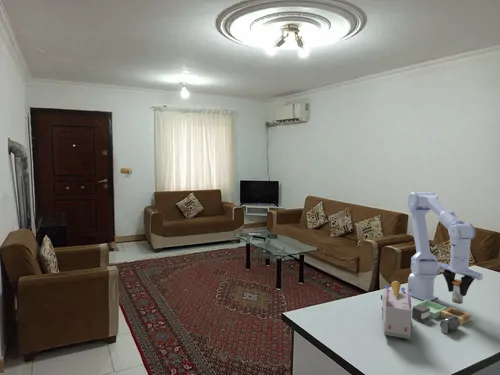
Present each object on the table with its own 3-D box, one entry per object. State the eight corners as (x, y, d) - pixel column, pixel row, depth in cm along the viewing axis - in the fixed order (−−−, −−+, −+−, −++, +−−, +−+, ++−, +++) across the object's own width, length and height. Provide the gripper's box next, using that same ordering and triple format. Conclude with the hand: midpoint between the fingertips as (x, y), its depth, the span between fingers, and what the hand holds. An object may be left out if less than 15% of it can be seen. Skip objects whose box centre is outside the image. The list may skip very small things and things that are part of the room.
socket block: (440, 317, 124) (441, 311, 124) (450, 312, 128) (450, 306, 128) (461, 325, 118) (461, 319, 118) (470, 319, 122) (471, 314, 122)
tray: (413, 310, 129) (413, 305, 129) (426, 305, 134) (426, 299, 134) (434, 319, 123) (434, 313, 123) (447, 312, 128) (447, 307, 128)
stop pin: (448, 301, 123) (449, 280, 123) (454, 299, 125) (454, 278, 125) (460, 305, 120) (461, 283, 119) (466, 302, 122) (466, 281, 122)
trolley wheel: (438, 330, 115) (438, 319, 114) (448, 324, 119) (449, 313, 118) (450, 335, 111) (451, 324, 111) (461, 329, 115) (461, 318, 115)
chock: (411, 317, 124) (412, 307, 124) (418, 314, 126) (419, 304, 126) (422, 322, 121) (423, 311, 120) (429, 319, 123) (430, 308, 123)
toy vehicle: (406, 317, 124) (408, 277, 122) (413, 345, 105) (415, 299, 104) (379, 313, 127) (381, 274, 125) (381, 340, 108) (383, 294, 107)
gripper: (433, 253, 125) (431, 288, 126) (477, 263, 113) (474, 303, 114) (443, 250, 129) (441, 285, 130) (486, 260, 117) (483, 298, 118)
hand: (457, 293), depth 123 cm, fingers closed on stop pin, 4 cm apart
